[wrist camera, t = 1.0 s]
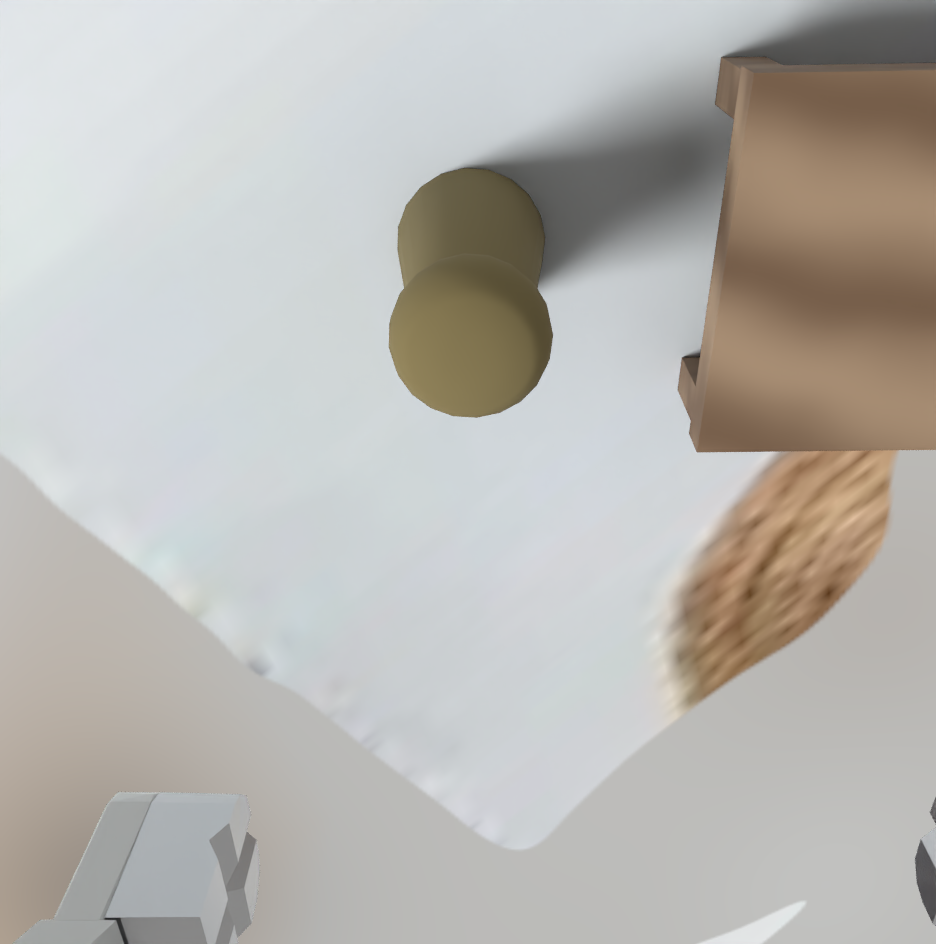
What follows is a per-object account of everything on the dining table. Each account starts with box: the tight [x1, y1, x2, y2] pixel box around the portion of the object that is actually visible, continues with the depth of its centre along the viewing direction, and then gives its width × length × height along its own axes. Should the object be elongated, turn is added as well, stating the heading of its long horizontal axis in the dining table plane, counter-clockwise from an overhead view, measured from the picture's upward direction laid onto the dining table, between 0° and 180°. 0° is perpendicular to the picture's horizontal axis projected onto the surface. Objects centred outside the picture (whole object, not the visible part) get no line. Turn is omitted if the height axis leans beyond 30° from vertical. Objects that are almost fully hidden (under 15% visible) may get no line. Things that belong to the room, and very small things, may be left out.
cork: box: [389, 168, 553, 418], centre depth 31 cm, size 6×6×11 cm
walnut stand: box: [678, 57, 936, 452], centre depth 33 cm, size 14×12×5 cm
